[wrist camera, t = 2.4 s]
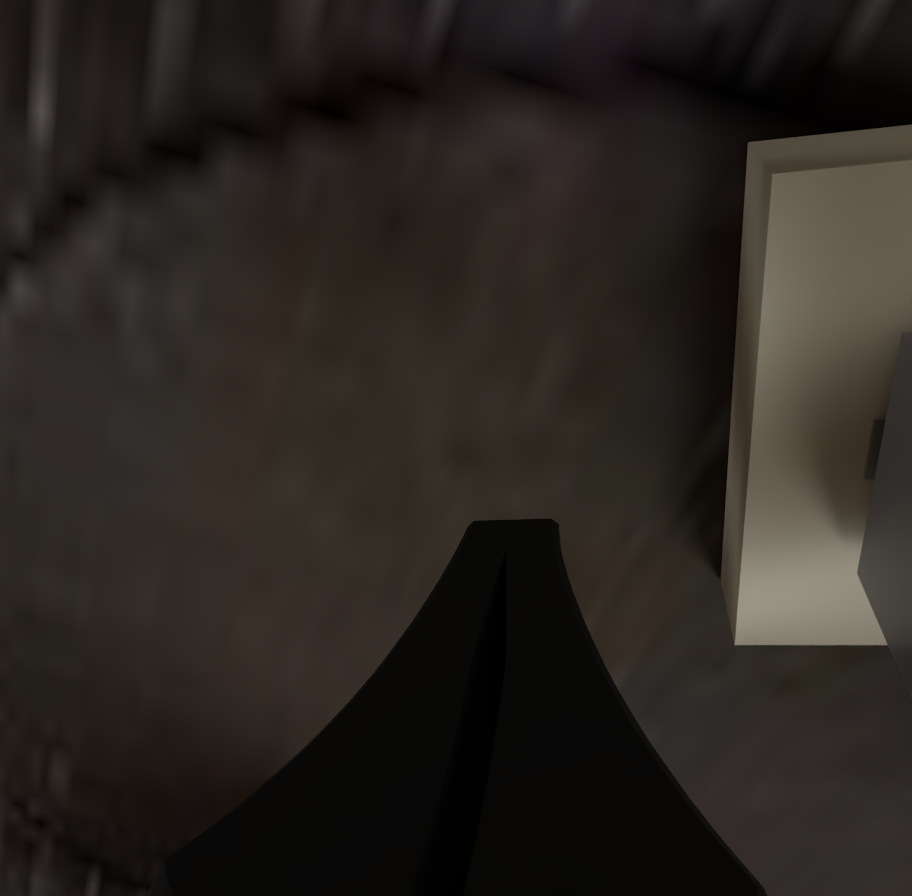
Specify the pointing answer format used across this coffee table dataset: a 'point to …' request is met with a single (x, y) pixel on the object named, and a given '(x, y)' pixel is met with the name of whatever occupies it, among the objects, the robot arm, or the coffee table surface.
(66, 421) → the coffee table surface
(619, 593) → the coffee table surface
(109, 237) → the coffee table surface
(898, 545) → the fader tab
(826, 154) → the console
